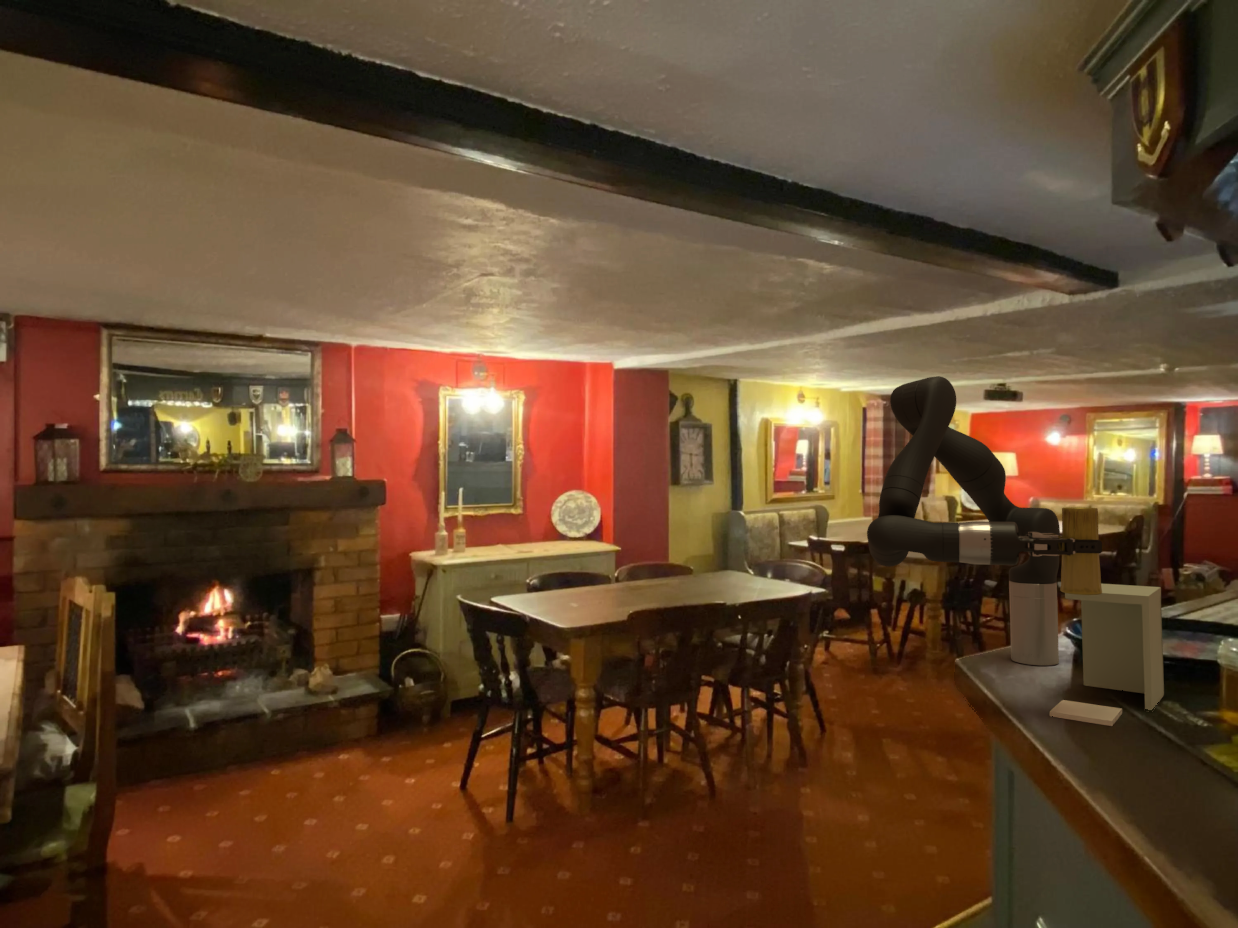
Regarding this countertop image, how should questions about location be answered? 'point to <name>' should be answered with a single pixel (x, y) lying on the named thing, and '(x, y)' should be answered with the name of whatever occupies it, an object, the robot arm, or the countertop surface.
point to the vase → (1081, 567)
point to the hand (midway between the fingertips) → (1097, 545)
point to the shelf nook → (1123, 640)
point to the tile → (1086, 712)
